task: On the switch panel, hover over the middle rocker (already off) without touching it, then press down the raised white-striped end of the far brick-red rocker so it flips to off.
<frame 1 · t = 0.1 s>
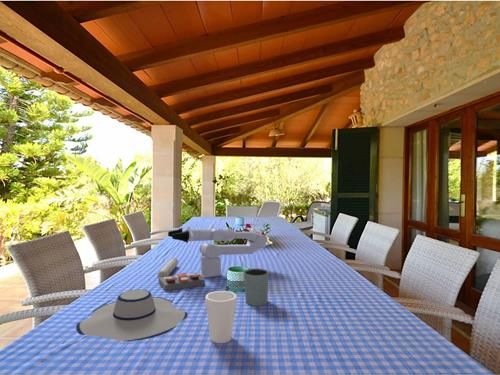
hand: (170, 235, 162), 22 cm above the table, tool horizontal, fingers open, 7 cm apart
grey-green pot: (256, 302, 135), on the table
rocker 3: (171, 278, 152), point 4 cm above the table, hinge at 14.0°
foam cup: (221, 338, 104), on the table
switch panel: (181, 284, 157), on the table
rocker 1: (194, 275, 157), point 4 cm above the table, hinge at 14.0°
tube: (168, 273, 175), on the table
sun hat: (134, 319, 119), on the table
rocker 2: (183, 277, 154), point 4 cm above the table, hinge at -14.0°
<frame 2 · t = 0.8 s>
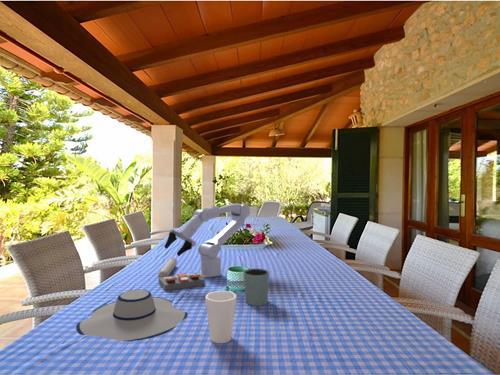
hand: (171, 251, 156), 15 cm above the table, tool tilted 50°, fingers open, 7 cm apart
nothing on the table moved.
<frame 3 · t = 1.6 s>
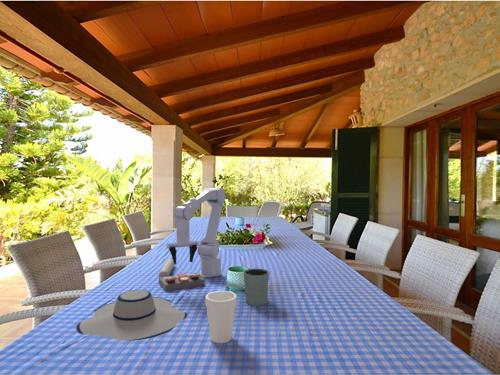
hand: (183, 262, 154), 10 cm above the table, tool pointing down, fingers open, 7 cm apart
nothing on the table moved.
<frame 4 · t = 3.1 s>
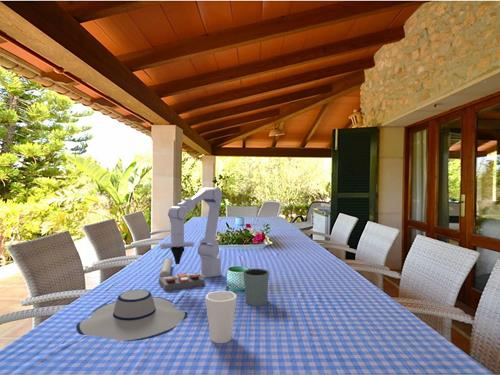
hand: (177, 263, 152), 11 cm above the table, tool pointing down, fingers closed
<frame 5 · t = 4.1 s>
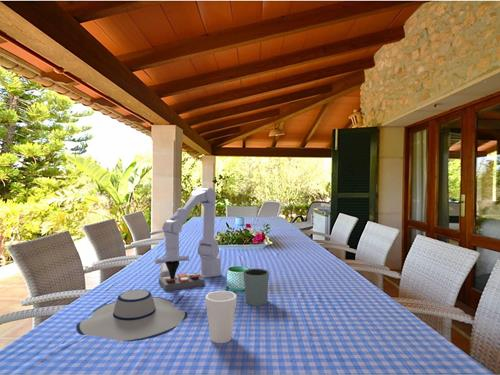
hand: (172, 278, 150), 5 cm above the table, tool pointing down, fingers closed, pressing on rocker 3
rocker 3: (171, 278, 152), point 4 cm above the table, hinge at 13.8°, touching gripper
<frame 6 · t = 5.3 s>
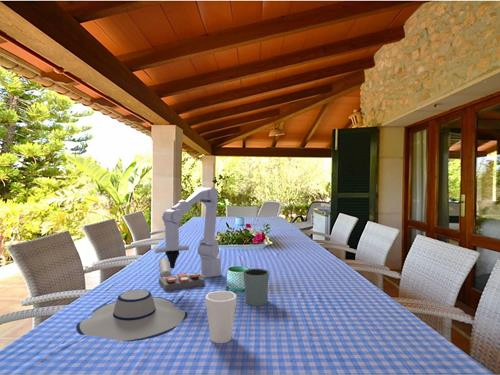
hand: (172, 267, 150), 9 cm above the table, tool pointing down, fingers closed
rocker 3: (171, 278, 152), point 4 cm above the table, hinge at 2.5°
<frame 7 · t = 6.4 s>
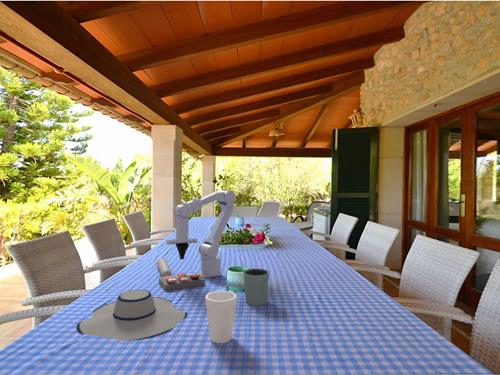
hand: (181, 258, 161), 10 cm above the table, tool pointing down, fingers closed
rocker 3: (171, 278, 152), point 4 cm above the table, hinge at -4.9°
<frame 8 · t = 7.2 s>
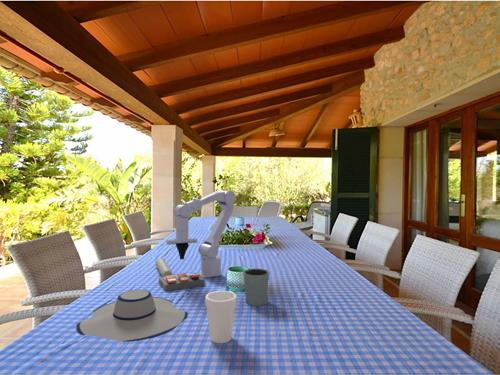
hand: (181, 258, 161), 10 cm above the table, tool pointing down, fingers closed
rocker 3: (171, 278, 152), point 4 cm above the table, hinge at -8.8°
at the end: rocker 3 at -10° (first picture: +14°); rocker 2 at -14° (first picture: -14°); rocker 1 at +14° (first picture: +14°) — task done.
